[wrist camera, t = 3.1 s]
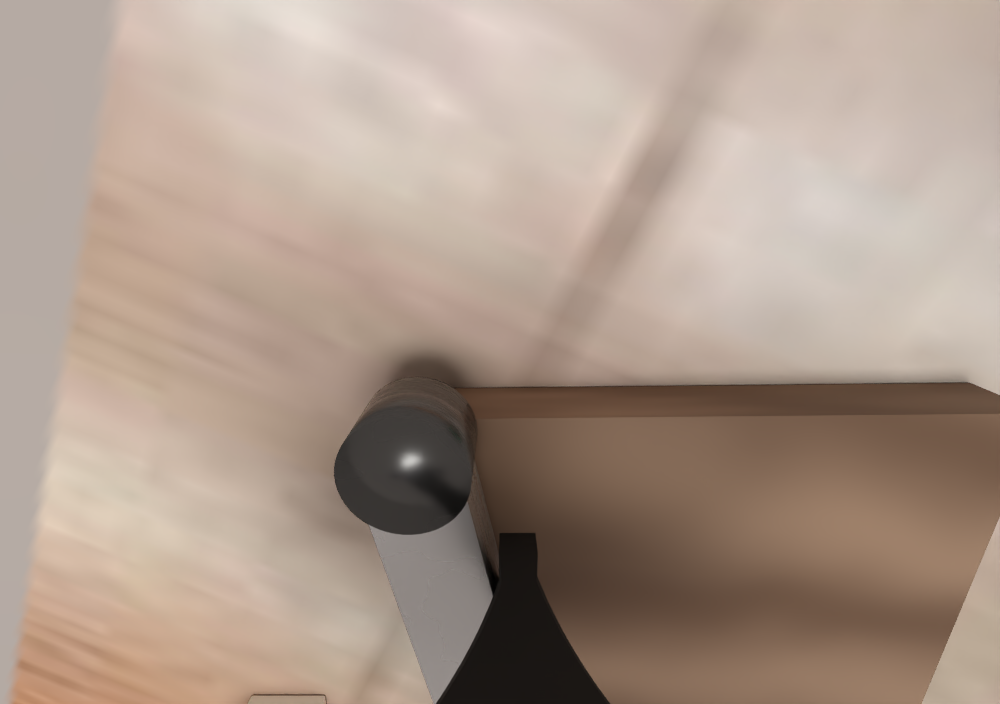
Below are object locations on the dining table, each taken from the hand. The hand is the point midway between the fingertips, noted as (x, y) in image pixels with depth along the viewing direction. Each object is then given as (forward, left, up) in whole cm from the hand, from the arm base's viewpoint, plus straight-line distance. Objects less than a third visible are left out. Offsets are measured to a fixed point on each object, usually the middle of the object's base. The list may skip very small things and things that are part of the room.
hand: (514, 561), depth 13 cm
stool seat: (-3, -6, -3) cm, 7 cm away
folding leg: (-2, +1, -1) cm, 3 cm away
